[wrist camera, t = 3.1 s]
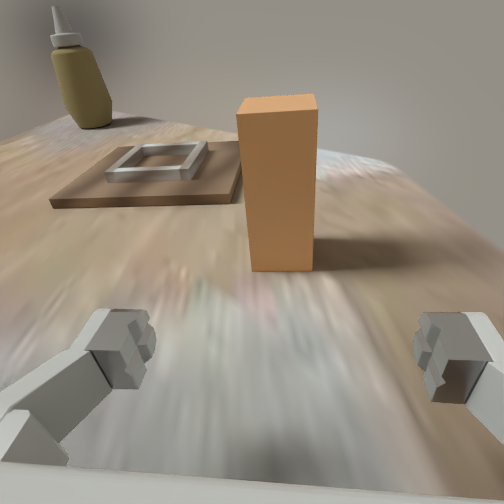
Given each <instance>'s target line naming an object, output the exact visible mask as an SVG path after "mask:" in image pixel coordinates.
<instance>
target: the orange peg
mask: <svg viewBox="0 0 504 504" xmlns="http://www.w3.org/2000/svg"><path fill="white" fill-rule="evenodd" d="M236 117H237V127H238V138H239V148H240V157H241V167H242V177H243V187H244V197H245V207H246V217H247V227H248V237H249V247H250V257H251V267H252V271H312V266H313V238H314V211H315V183H316V155H317V126H318V107H317V104H316V100H315V97H314V94H299V95H286V96H269V97H255V98H245V99H244V101H243V103H242V105H241V107H240V108H239V110H238V112H237V114H236Z"/></svg>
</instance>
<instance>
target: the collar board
mask: <svg viewBox="0 0 504 504" xmlns="http://www.w3.org/2000/svg"><path fill="white" fill-rule="evenodd" d="M241 169H242V167H241V157H240V148H239V141H227V142H208V143H207V141H200V142H180V143H161V144H141V145H136V146H129V147H118V148H116V149H115V150H114V151H112V152H111V153H110V154H108V155H107V156H106V157H104V158H103V159H102V160H100V161H99V162H98V163H96V164H95V165H94V166H92V167H91V168H90V169H88V170H87V171H86V172H84V173H83V174H82V175H80V176H79V177H78V178H76V179H75V180H74V181H72V182H71V183H70V184H68V185H67V186H66V187H64V188H63V189H62V190H60V191H59V192H58V193H56V194H55V195H54V196H52V197H51V198H50V199H49V201H50V203H51V205H52V207H53V208H83V207H121V206H158V205H196V204H230V203H231V200H232V197H233V194H234V191H235V188H236V185H237V181H238V178H239V175H240V172H241Z"/></svg>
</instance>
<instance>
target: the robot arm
mask: <svg viewBox="0 0 504 504" xmlns="http://www.w3.org/2000/svg"><path fill="white" fill-rule="evenodd" d="M149 319H150V317H149V315H148V313H147V311H146V310H135V309H98V310H96V311H94V313H93V314H92V316H91V317H90V319H89V320H88V321H87V323H86V324H85V326H84V327H83V329H82V330H81V332H80V333H79V335H78V336H77V338H76V339H75V341H74V342H73V344H72V345H71V346H70V348H69V349H68V350H63V351H61V352H60V353H58V354H57V355H55V356H54V357H52V358H51V359H49V360H48V361H46V362H45V363H43V364H42V365H40V366H39V367H37V368H36V369H34V370H33V371H31V372H30V373H28V374H27V375H25V376H24V377H22V378H21V379H19V380H18V381H16V382H15V383H13V384H12V385H10V386H9V387H7V388H6V389H4V390H2V391H1V392H0V504H504V501H502V500H489V499H477V498H464V497H451V496H438V495H425V494H413V493H400V492H387V491H374V490H362V489H349V488H336V487H323V486H310V485H298V484H285V483H272V482H259V481H247V480H234V479H221V478H208V477H195V476H183V475H170V474H157V473H144V472H131V471H118V470H105V469H92V468H80V467H67V466H66V464H67V462H68V460H69V457H68V454H67V452H66V451H65V450H64V449H63V448H62V447H61V446H60V445H59V444H58V443H60V442H61V441H62V440H63V439H64V438H65V437H66V436H67V435H68V434H69V433H70V432H71V431H72V430H73V429H74V428H75V427H76V426H77V425H78V424H79V423H80V422H81V421H82V420H83V419H84V418H85V417H86V416H87V415H88V414H89V413H90V412H91V411H92V410H93V409H94V408H95V407H96V406H97V405H98V404H99V403H100V402H101V401H102V400H103V399H104V398H105V397H106V396H107V395H108V394H109V393H110V392H111V391H112V389H139V387H140V385H141V382H142V380H143V378H144V375H145V373H146V370H147V369H146V366H145V363H146V362H147V361H148V360H149V359H151V358H152V356H153V353H154V351H155V346H156V333H155V331H154V328H153V327H152V326H150V325H149V324H148V321H149ZM418 322H419V325H420V327H421V329H419V330H418V331H416V332H415V335H414V339H413V351H414V356H415V360H416V362H417V365H418V366H419V367H420V368H421V369H422V370H424V371H425V374H424V377H423V382H424V384H425V387H426V390H427V392H428V395H429V398H430V401H431V402H439V403H453V404H466V405H465V406H466V407H467V408H468V409H469V410H470V411H471V412H472V413H473V415H474V416H475V417H476V418H477V419H478V420H479V421H480V422H481V423H482V424H483V425H484V426H485V427H486V428H487V429H488V430H489V431H490V432H491V433H492V434H493V435H494V436H495V437H496V438H497V439H498V440H499V441H500V442H501V443H502V444H503V445H504V340H503V339H502V337H501V336H500V334H499V333H498V331H497V330H496V329H495V327H494V326H493V324H492V323H491V321H490V320H489V318H488V317H487V315H486V314H484V313H483V312H462V313H461V312H423V313H422V314H421V315H420V318H419V321H418Z"/></svg>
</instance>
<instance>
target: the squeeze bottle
mask: <svg viewBox="0 0 504 504" xmlns="http://www.w3.org/2000/svg"><path fill="white" fill-rule="evenodd" d="M52 11H53V18H54V24H55V31H56V34H55V35H51V36H50V38H51V40H52V43H53V46H54V47H58V49H57V50H55V51H53V52H52V54H51V58H52V62H53V65H54V69H55V73H56V76H57V80H58V83H59V87H60V91H61V94H62V98H63V101H64V105H65V108H66V110H67V111H68V112H69V114H70V115H71V116H72V118H73V119H74V120H75V122H76V123H77V124H78V126H79V127H80V128H97V127H102V126H105V125H107V124H109V123H111V122H112V100H111V97H110V95H109V93H108V90H107V88H106V85H105V83H104V80H103V78H102V75H101V73H100V70H99V68H98V65H97V63H96V60H95V58H94V55H93V53H92V51H91V50H90V49H88V48H85V47H82V46H80V45H82V44H83V40H82V37H81V34H80V33H74V32H73V31H72V29H71V27H70V25H69V23H68V21H67V19H66V17H65V15H64V14H63V12H62V10H61V8H60V6H54V7H52Z"/></svg>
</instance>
